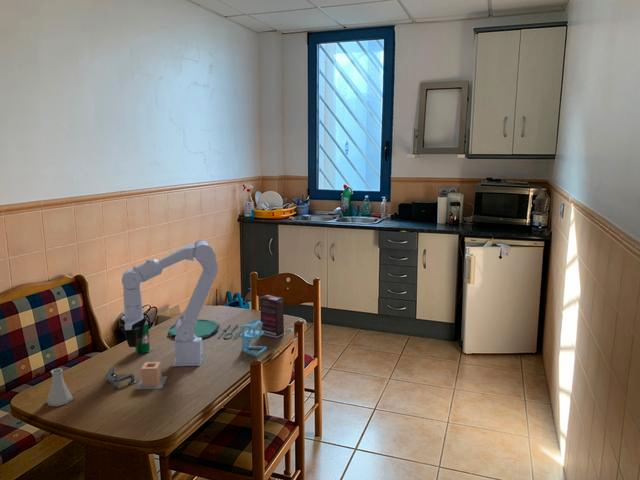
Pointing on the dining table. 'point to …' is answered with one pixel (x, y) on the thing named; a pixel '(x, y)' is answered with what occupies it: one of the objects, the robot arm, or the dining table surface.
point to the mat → (153, 386)
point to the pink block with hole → (151, 373)
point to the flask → (58, 390)
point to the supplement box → (272, 316)
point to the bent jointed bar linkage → (111, 375)
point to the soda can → (143, 341)
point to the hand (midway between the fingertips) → (135, 342)
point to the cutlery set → (207, 329)
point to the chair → (252, 337)
